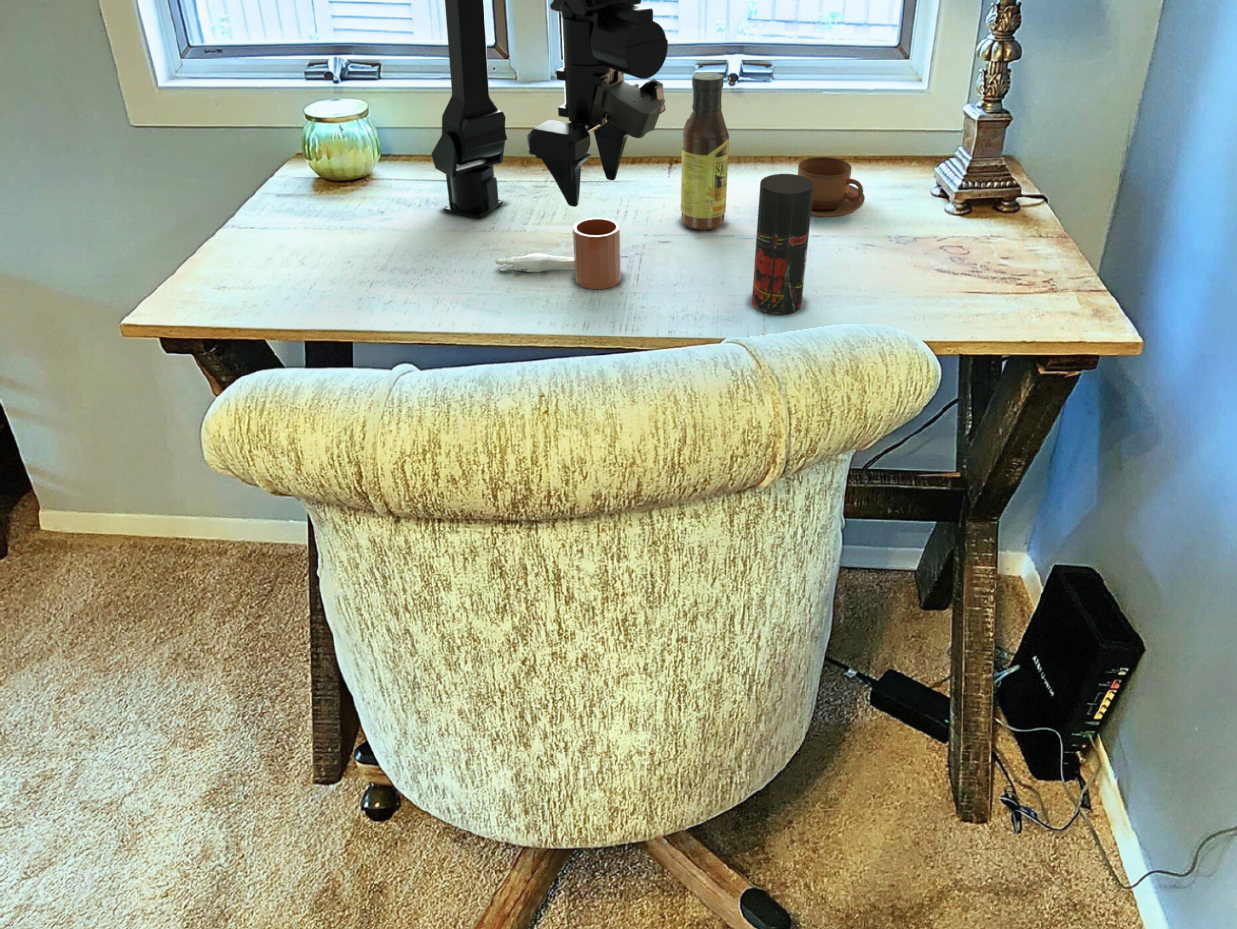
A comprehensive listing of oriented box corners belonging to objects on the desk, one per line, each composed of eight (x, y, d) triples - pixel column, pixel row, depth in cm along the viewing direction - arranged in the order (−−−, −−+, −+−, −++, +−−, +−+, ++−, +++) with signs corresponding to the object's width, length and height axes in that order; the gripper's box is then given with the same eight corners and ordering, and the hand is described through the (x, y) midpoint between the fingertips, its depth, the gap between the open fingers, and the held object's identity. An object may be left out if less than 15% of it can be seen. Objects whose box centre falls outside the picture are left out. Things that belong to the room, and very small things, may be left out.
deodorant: (747, 293, 126) (755, 174, 117) (795, 290, 126) (807, 172, 117) (757, 316, 121) (766, 194, 112) (806, 313, 121) (819, 192, 112)
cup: (567, 283, 128) (564, 231, 124) (589, 265, 132) (587, 214, 128) (606, 292, 126) (605, 240, 122) (628, 274, 130) (627, 222, 126)
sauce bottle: (722, 233, 140) (729, 84, 128) (677, 230, 141) (680, 82, 129) (727, 214, 145) (735, 70, 133) (684, 211, 146) (687, 68, 134)
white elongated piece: (495, 275, 131) (494, 261, 129) (496, 266, 133) (495, 252, 132) (612, 271, 131) (612, 258, 130) (611, 262, 133) (611, 249, 132)
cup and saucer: (868, 197, 149) (874, 155, 146) (856, 229, 140) (861, 186, 137) (787, 188, 153) (790, 147, 149) (770, 219, 143) (773, 176, 140)
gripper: (611, 91, 105) (613, 233, 114) (689, 46, 118) (685, 177, 127) (520, 77, 109) (529, 215, 118) (605, 35, 122) (607, 163, 131)
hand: (592, 192), depth 124 cm, fingers open, 9 cm apart
